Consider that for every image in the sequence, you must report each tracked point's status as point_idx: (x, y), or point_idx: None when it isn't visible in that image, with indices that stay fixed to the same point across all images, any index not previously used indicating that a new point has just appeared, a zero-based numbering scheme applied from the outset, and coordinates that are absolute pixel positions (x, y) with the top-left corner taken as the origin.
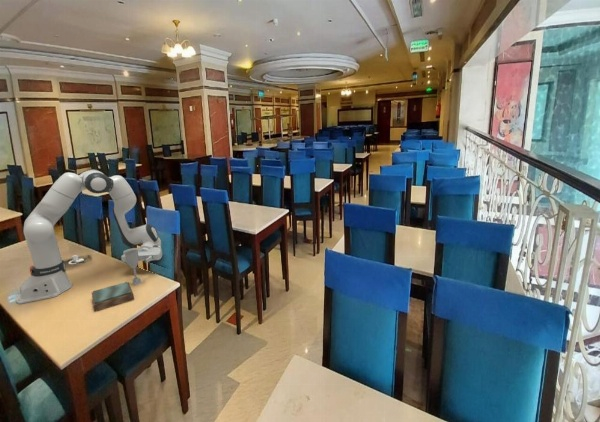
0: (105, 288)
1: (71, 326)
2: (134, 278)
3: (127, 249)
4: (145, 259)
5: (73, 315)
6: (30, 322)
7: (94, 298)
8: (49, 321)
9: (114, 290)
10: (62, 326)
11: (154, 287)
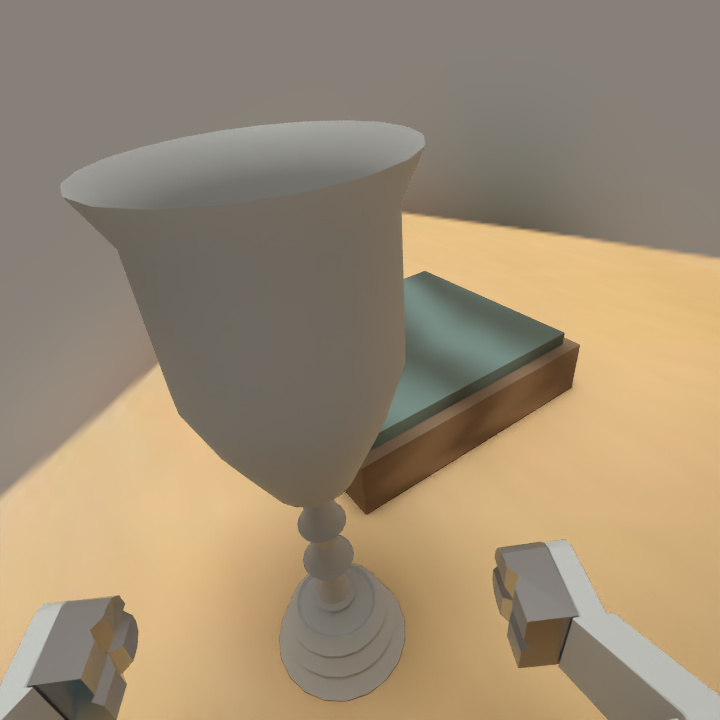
0: (491, 357)
1: (448, 259)
2: (353, 583)
3: (397, 164)
4: (81, 609)
5: (514, 291)
6: (673, 260)
7: (461, 288)
8: (587, 267)
9: None
10: (487, 257)
11: (118, 521)
